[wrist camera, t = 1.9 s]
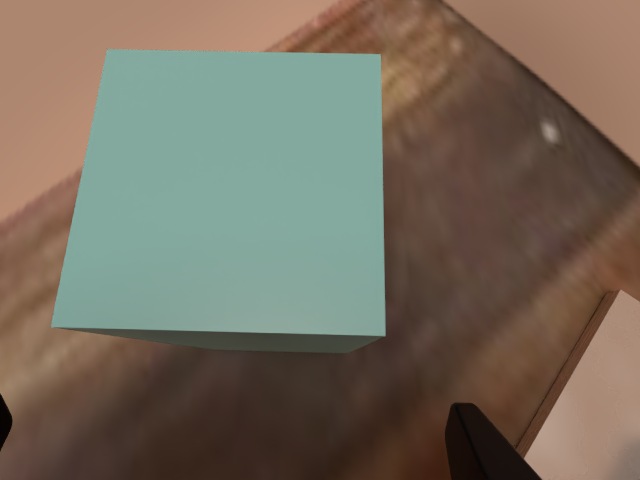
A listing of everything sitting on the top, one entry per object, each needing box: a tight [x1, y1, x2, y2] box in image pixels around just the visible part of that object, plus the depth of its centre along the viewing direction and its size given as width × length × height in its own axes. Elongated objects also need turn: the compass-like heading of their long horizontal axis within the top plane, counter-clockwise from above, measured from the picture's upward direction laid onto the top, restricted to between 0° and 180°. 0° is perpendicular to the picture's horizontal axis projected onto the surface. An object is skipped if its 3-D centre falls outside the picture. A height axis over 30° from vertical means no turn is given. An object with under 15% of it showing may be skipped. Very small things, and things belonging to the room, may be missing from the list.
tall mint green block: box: [51, 49, 386, 353], centre depth 14 cm, size 6×6×12 cm
